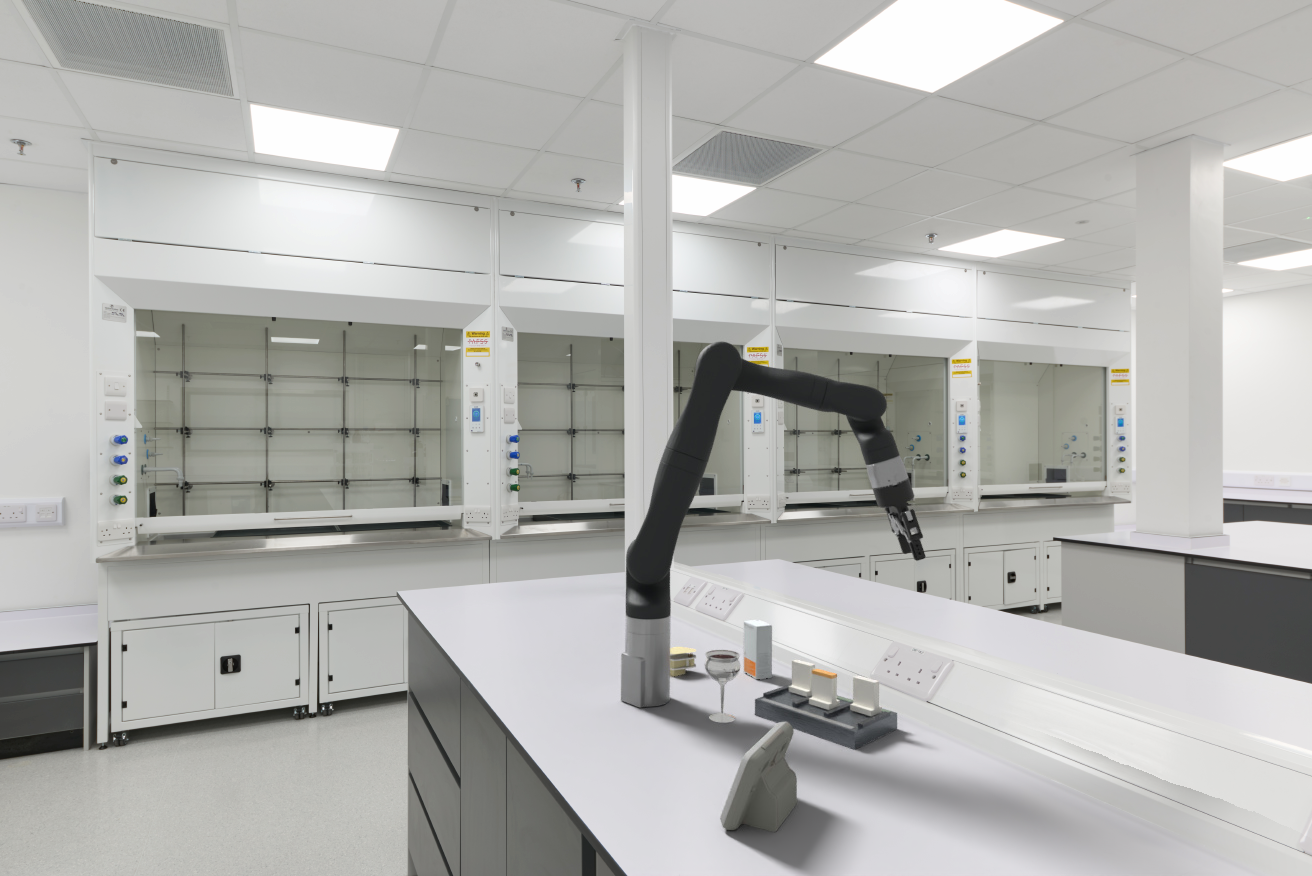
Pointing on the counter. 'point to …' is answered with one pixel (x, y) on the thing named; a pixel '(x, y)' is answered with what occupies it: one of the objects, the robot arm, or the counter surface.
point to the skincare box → (757, 649)
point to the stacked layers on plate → (681, 660)
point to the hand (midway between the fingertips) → (914, 556)
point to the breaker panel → (825, 718)
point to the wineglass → (722, 675)
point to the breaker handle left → (801, 678)
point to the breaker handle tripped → (824, 689)
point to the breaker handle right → (865, 696)
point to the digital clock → (763, 784)
